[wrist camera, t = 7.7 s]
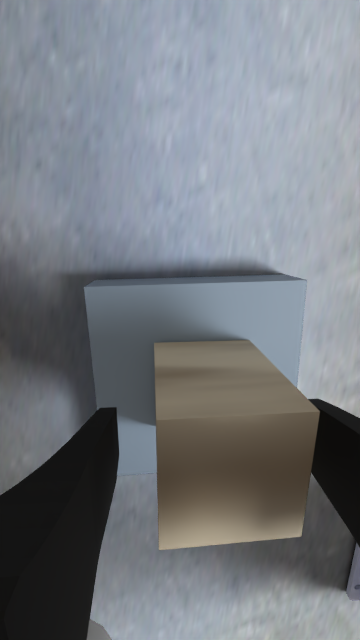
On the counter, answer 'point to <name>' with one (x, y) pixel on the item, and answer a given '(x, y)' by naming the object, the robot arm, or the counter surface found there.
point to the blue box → (180, 339)
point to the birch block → (229, 445)
